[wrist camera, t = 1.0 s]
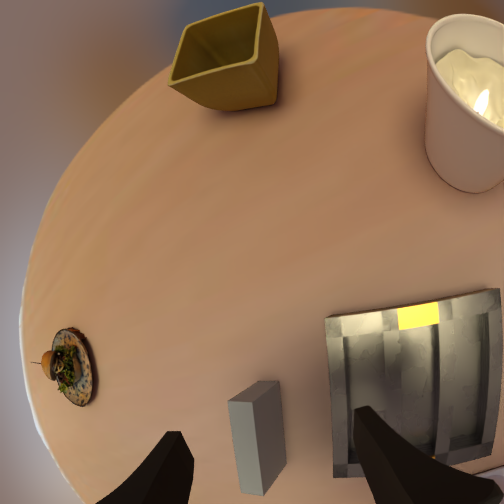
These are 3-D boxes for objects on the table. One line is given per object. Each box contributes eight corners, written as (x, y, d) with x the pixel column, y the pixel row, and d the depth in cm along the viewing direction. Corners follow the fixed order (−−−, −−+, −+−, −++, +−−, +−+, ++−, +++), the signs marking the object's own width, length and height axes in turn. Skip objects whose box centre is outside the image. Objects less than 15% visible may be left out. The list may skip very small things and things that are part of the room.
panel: (286, 463, 24) (263, 496, 18) (267, 461, 24) (241, 492, 19) (279, 380, 25) (252, 402, 20) (258, 380, 26) (227, 401, 21)
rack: (482, 440, 16) (491, 456, 13) (339, 460, 22) (332, 479, 19) (486, 288, 19) (501, 288, 16) (330, 315, 24) (323, 318, 21)
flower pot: (224, 69, 32) (184, 24, 24) (293, 55, 28) (263, -1, 20) (215, 128, 31) (165, 86, 23) (292, 117, 28) (256, 61, 19)
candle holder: (411, 100, 23) (412, 5, 12) (501, 112, 19) (536, 31, 8) (418, 197, 22) (441, 125, 11) (515, 208, 18) (584, 156, 7)
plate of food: (88, 418, 36) (50, 428, 29) (54, 362, 40) (17, 366, 34) (111, 370, 34) (65, 378, 27) (71, 310, 39) (30, 310, 32)
